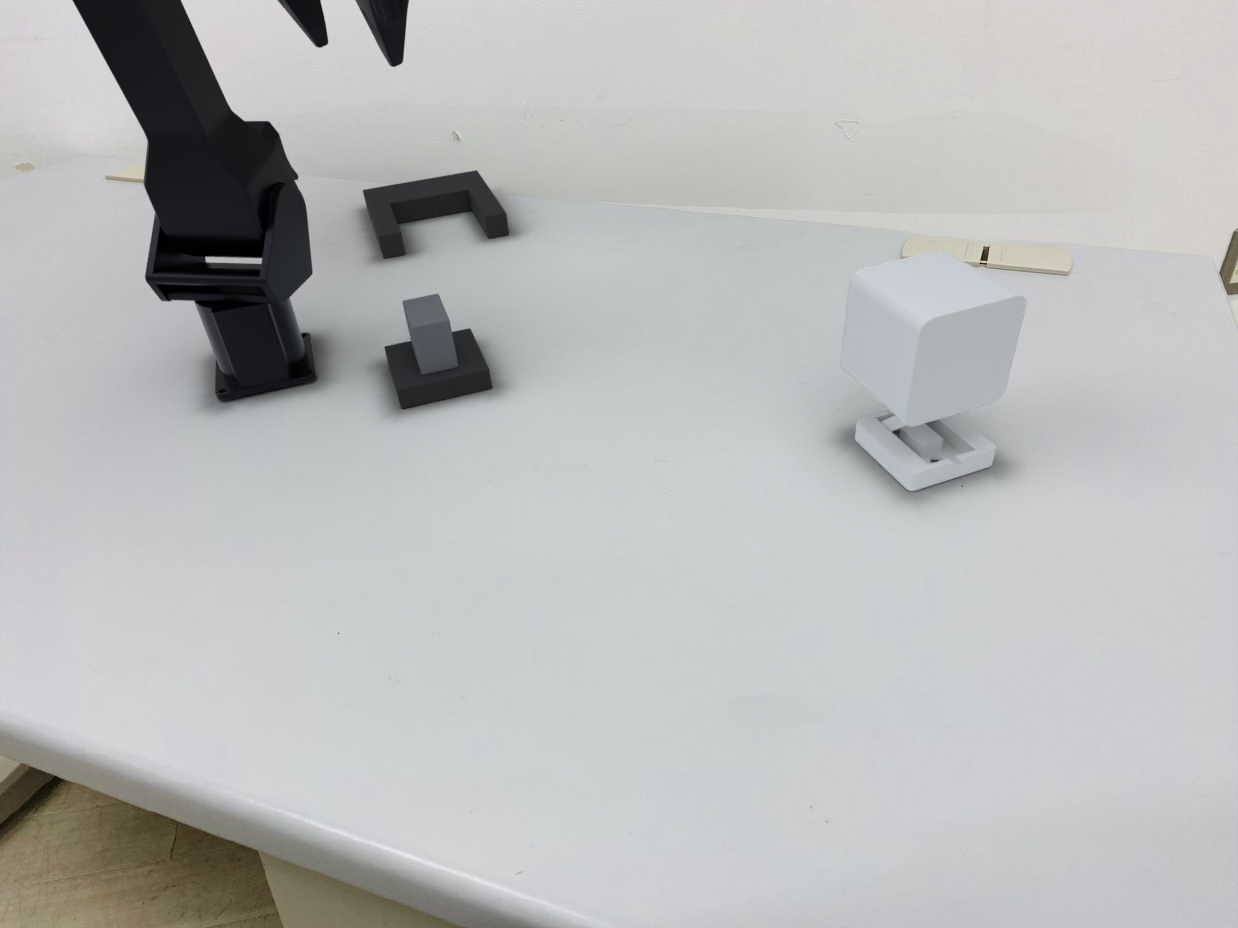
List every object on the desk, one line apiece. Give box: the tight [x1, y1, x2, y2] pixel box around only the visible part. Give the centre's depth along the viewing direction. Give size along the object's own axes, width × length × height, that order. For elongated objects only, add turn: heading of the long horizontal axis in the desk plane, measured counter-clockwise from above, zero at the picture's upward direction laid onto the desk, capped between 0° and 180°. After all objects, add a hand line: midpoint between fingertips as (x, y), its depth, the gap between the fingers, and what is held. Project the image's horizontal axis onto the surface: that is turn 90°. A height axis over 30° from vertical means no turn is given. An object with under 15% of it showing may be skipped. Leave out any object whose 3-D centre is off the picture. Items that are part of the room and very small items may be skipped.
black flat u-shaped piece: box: [362, 169, 510, 259], centre depth 81 cm, size 12×11×2 cm
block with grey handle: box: [383, 293, 493, 410], centre depth 58 cm, size 6×6×5 cm
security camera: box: [839, 249, 1028, 492], centre depth 48 cm, size 6×7×10 cm
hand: (358, 55), depth 72 cm, fingers open, 9 cm apart
